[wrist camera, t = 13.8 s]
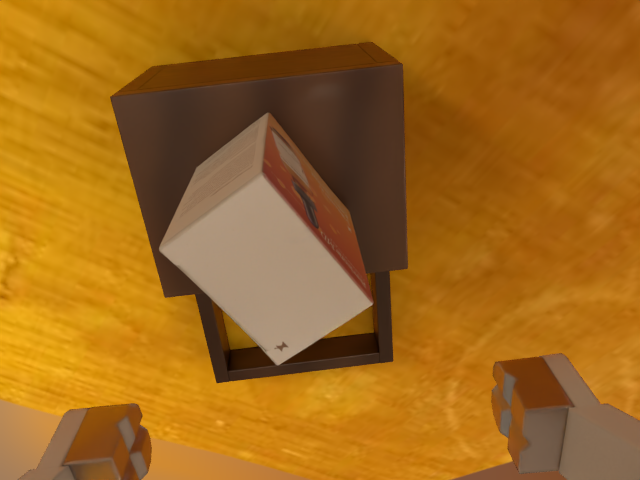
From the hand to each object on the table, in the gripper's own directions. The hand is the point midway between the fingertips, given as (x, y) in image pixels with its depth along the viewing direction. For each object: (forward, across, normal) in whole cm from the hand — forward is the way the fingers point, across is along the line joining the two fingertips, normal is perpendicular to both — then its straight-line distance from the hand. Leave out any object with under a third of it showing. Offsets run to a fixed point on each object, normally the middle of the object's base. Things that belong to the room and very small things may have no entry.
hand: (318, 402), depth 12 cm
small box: (+21, +2, +3) cm, 21 cm away
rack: (+31, +2, +10) cm, 33 cm away
